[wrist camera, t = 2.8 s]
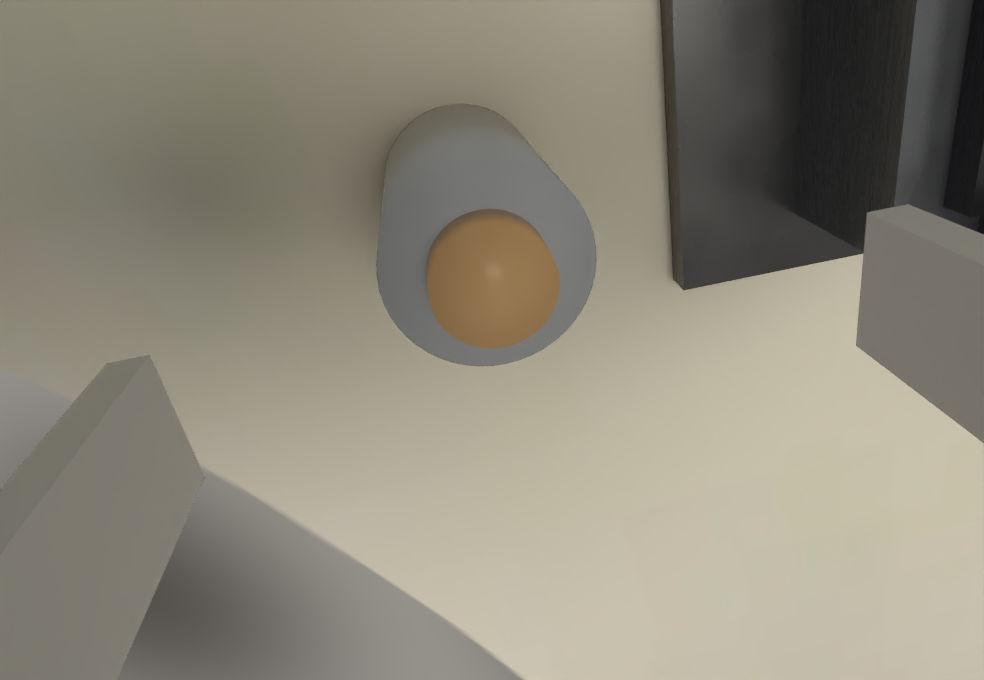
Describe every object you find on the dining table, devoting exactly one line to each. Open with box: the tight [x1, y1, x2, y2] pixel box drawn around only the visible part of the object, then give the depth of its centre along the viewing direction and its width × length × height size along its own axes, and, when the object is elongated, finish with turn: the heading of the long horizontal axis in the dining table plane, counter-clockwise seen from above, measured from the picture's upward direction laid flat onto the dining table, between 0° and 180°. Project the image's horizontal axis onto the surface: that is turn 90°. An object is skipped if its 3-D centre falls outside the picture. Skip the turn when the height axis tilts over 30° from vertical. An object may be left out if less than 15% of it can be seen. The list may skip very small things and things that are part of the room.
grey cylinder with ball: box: [376, 104, 596, 366], centre depth 18 cm, size 5×5×9 cm
